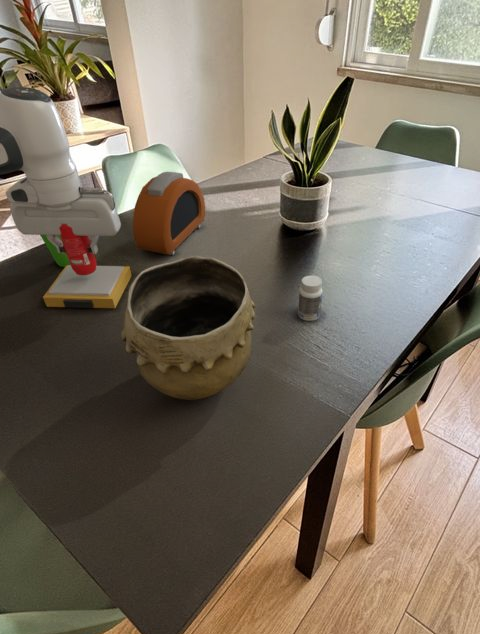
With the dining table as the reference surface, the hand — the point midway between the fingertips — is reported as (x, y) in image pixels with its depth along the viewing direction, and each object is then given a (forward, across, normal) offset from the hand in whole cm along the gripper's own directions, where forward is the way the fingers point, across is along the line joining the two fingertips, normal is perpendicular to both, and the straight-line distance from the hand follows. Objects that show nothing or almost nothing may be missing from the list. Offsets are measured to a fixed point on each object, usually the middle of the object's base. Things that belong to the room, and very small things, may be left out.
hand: (78, 252), depth 90 cm
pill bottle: (+10, -49, +7) cm, 50 cm away
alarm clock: (+10, -14, -25) cm, 30 cm away
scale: (+10, 0, 0) cm, 10 cm away
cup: (+10, +10, -12) cm, 18 cm away
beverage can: (+5, 0, 0) cm, 5 cm away
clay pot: (+10, -29, +27) cm, 41 cm away
